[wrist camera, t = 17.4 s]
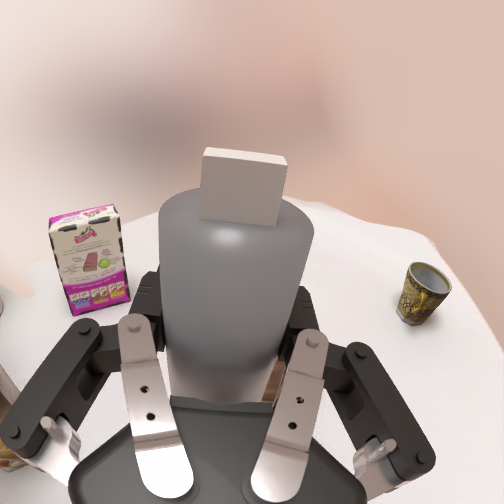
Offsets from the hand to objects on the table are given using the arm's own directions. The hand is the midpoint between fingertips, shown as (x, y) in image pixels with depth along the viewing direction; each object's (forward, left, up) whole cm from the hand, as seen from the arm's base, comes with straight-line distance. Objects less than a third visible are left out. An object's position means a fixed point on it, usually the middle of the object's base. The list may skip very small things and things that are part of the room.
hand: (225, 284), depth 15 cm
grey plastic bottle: (0, -3, -8) cm, 8 cm away
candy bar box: (-21, +24, -27) cm, 42 cm away
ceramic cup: (+38, +25, -27) cm, 53 cm away
